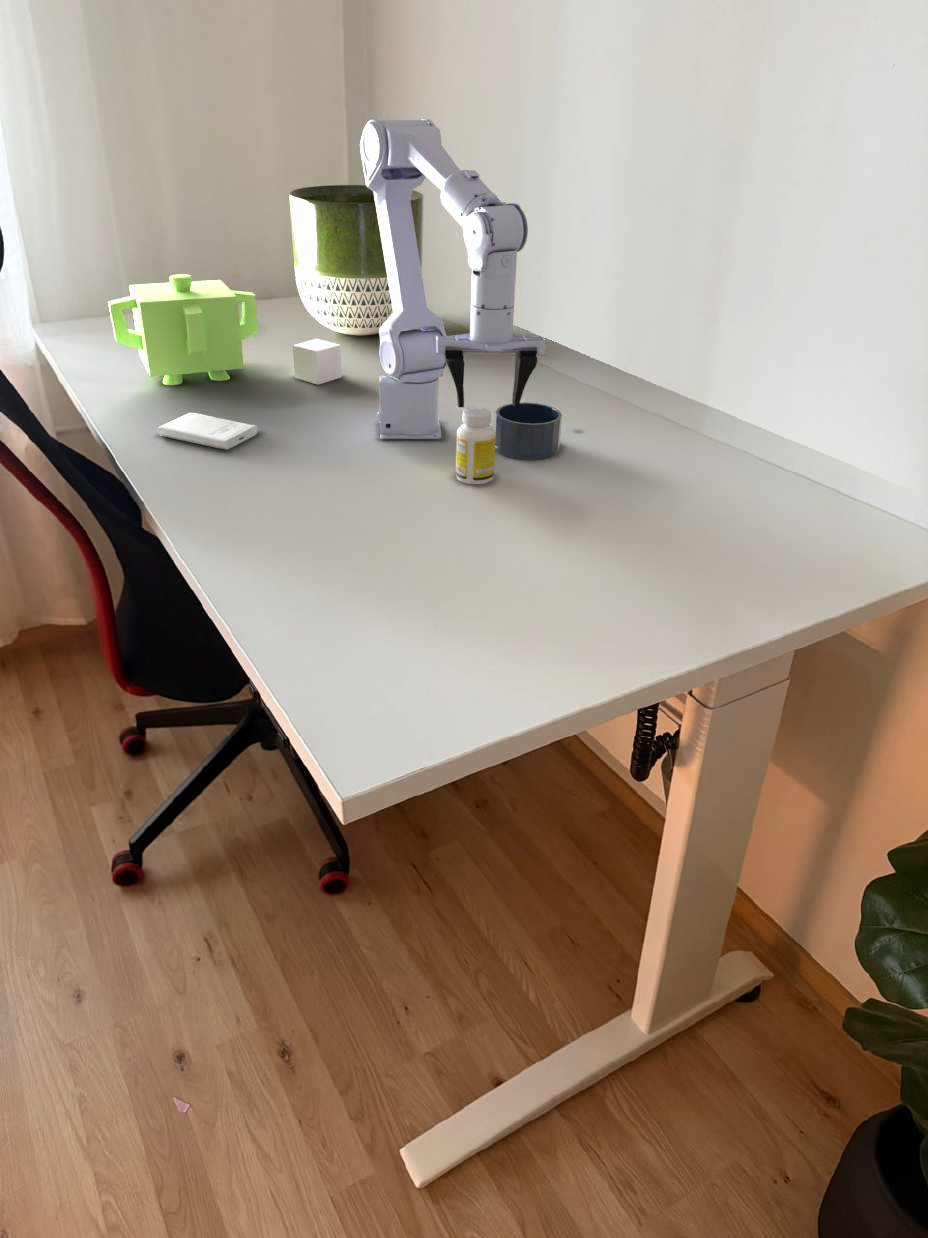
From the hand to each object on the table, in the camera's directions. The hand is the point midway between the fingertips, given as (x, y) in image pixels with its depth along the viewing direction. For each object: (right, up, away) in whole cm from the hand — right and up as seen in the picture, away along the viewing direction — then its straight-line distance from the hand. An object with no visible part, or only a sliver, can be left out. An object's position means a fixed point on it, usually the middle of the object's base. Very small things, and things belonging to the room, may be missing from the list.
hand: (488, 405), depth 131 cm
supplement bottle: (-2, -10, +4) cm, 11 cm away
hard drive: (-43, -1, +15) cm, 46 cm away
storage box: (-53, +15, +42) cm, 70 cm away
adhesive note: (-30, +14, +42) cm, 54 cm away
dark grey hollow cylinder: (+6, -3, +15) cm, 16 cm away
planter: (-25, +32, +71) cm, 82 cm away
